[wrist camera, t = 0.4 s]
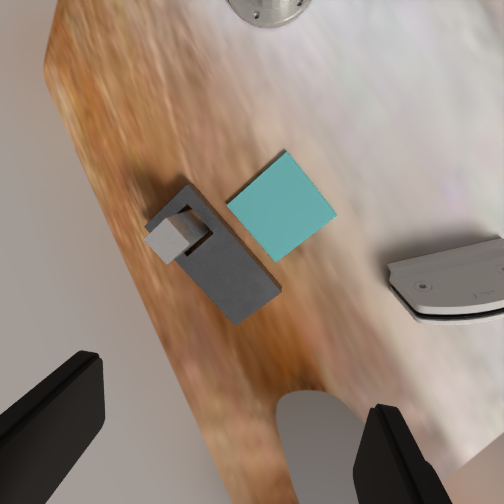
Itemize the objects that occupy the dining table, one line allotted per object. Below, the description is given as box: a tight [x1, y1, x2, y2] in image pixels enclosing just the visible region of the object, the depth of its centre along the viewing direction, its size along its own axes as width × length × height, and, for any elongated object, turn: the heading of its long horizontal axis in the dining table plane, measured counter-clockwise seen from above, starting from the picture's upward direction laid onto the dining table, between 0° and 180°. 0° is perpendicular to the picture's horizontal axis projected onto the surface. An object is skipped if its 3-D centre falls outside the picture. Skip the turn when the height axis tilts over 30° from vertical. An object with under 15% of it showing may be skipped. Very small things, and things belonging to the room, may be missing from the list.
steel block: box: [144, 209, 210, 264], centre depth 38 cm, size 4×4×10 cm
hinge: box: [387, 238, 504, 325], centre depth 36 cm, size 17×5×10 cm, turn 107°
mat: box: [227, 152, 337, 262], centre depth 40 cm, size 12×12×1 cm
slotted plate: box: [144, 184, 282, 326], centre depth 42 cm, size 22×10×2 cm, turn 41°
